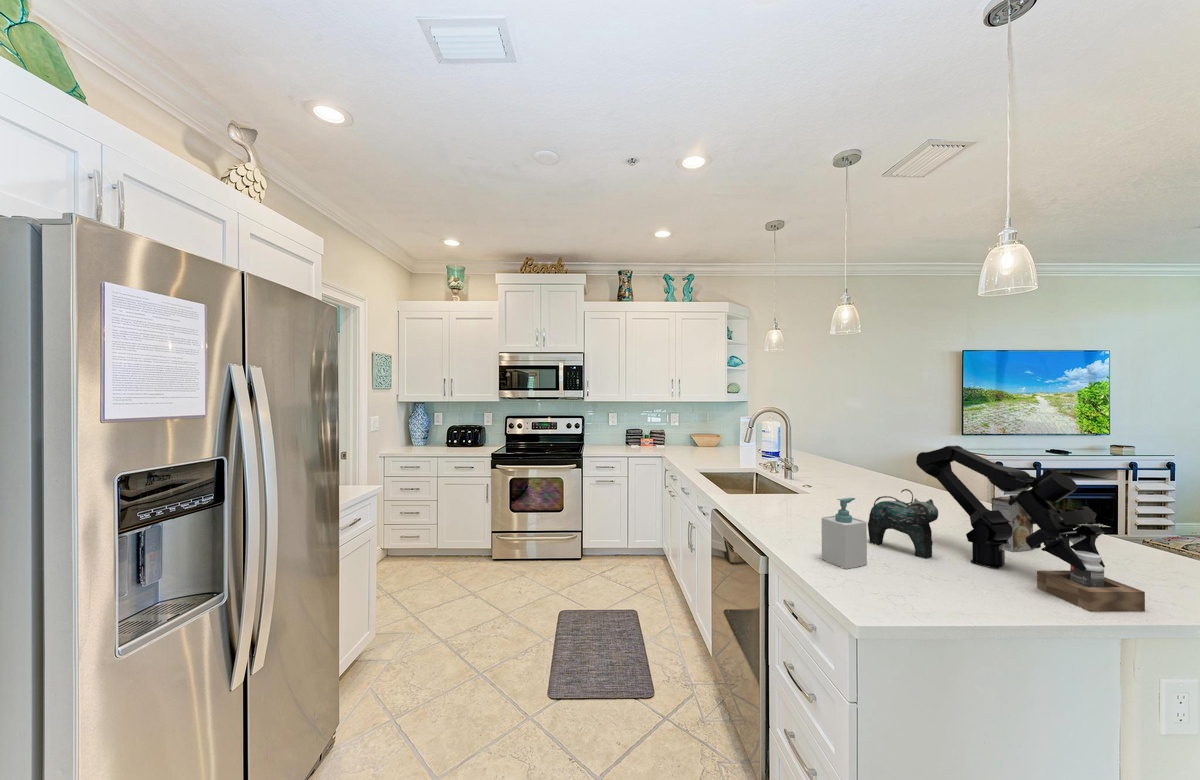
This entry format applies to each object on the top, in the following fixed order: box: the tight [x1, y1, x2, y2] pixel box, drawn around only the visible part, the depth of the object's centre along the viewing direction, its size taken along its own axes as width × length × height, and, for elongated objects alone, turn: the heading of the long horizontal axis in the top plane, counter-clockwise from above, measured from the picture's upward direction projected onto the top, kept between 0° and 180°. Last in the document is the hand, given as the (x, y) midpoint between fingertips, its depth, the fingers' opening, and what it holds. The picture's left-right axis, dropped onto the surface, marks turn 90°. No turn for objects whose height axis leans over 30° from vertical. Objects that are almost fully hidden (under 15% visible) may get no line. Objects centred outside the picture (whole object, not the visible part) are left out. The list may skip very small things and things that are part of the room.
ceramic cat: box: [867, 488, 939, 560], centre depth 148 cm, size 20×6×20 cm, turn 28°
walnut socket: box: [1036, 569, 1146, 612], centre depth 113 cm, size 13×13×4 cm
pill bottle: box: [1069, 550, 1105, 587], centre depth 113 cm, size 6×6×10 cm
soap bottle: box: [821, 497, 868, 570], centre depth 138 cm, size 9×9×19 cm
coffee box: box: [991, 495, 1034, 553], centre depth 149 cm, size 9×6×16 cm
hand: (1093, 568), depth 111 cm, fingers closed on pill bottle, 6 cm apart
